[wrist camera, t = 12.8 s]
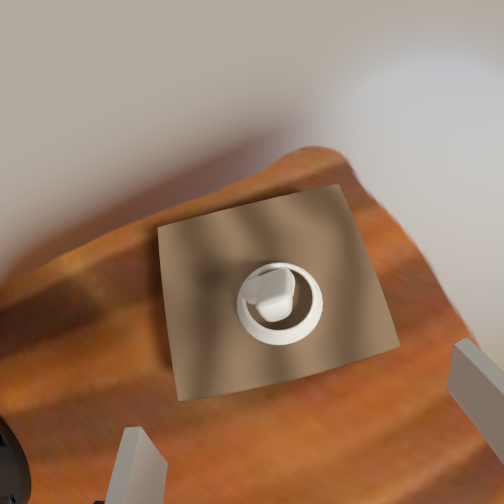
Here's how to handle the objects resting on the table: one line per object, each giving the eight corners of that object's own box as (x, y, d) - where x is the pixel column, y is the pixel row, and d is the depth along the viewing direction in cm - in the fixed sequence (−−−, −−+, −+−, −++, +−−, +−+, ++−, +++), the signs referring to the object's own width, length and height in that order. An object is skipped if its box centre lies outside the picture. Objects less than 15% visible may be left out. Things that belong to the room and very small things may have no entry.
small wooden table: (198, 401, 31) (178, 400, 25) (176, 253, 39) (157, 227, 34) (381, 356, 31) (400, 345, 25) (332, 215, 39) (338, 183, 33)
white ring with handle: (251, 411, 20) (198, 328, 19) (259, 336, 32) (225, 276, 31) (356, 369, 19) (313, 275, 18) (327, 305, 31) (297, 241, 30)
